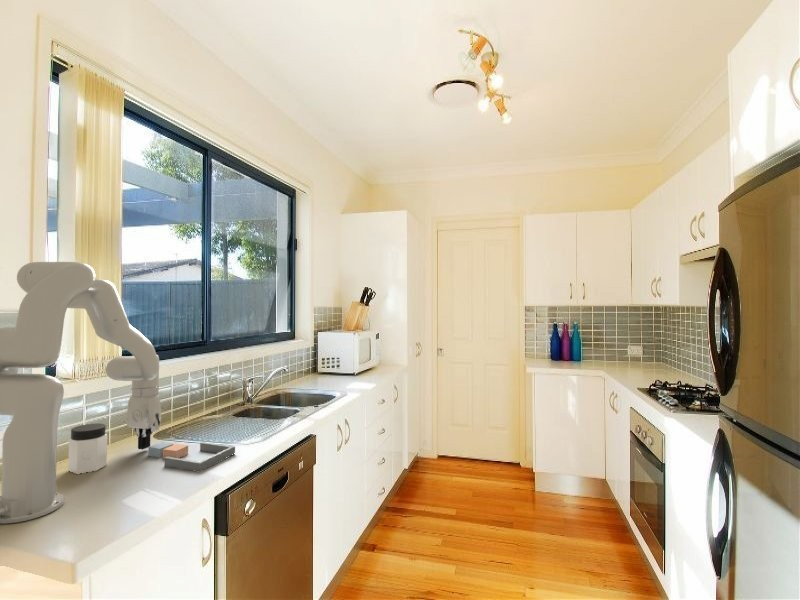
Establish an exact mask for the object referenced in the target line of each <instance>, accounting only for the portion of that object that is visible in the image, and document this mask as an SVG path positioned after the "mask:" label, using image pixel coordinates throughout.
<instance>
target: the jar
mask: <svg viewBox="0 0 800 600" xmlns="http://www.w3.org/2000/svg"><path fill="white" fill-rule="evenodd" d="M106 428H107V427H106V424H105V423H98V422H97V423H89V424H88V423H87V424H81V425H77V426H75V427H72V429H70V438H68V464H67V467H68V468H67V470H68V472H69V471H70V472H71V473H72V472H73V473H72V474H75V475H81V474H80V473H82V474H87V473H86V472H88V473H93V472H92V471H94V472H97V471H98V470H101V469H102V468H104V467H106V466H107V465H108V462H107V461H108V460H107V459H108V434H107V433H106Z"/></svg>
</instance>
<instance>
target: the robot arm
mask: <svg viewBox="0 0 800 600" xmlns="http://www.w3.org/2000/svg"><path fill="white" fill-rule="evenodd" d="M16 281H17V283H18V286H19V287H20V289H22V291H24V292H25V293H26V294H25V296H24V297H23V298H22V300H21V303H20V305H19V308H18V312H17V317H16V323H15V327H13V326H12V327H10V326H9V327H7V326H6V327H0V415H1V416H12V419H11V421H10V422H9V424H8V425H7V427H6V428H5V430H4V433H3V437H2V443H1V445H2V454H1V455H2V457H1V461H2V462H1V489H0V490H1V495H0V524H13V523H14V524H17V523H20V522H21V523H22V522H26V521H30V520H34V519H36V518H41V517H43V516H46V515H48V514H50V513H53V512H55V511H56V510H57V509H59V508H60V507H62V506H63V504H64V503H65V496H64V495H63V494H61V493H58V492H57V458H58V457H57V456H58V455H57V454H58V424H59V417H60V412H61V411H60V410H61V407H62V403H63V399H64V395H65V393H64V392H65V390H64V385H63V384H62V382H61V381H60V380H59V379H58V378H56V377H55V376H52V375H48V374H42V373H18V371H19V368H21V369H39V368H40V369H41V368H47V367H50V366H52V365H54V364H55V363H56V362H57V361H58V359H59V357H60V355H61V354H60V353H61V347H62V340H63V332H64V331H63V330H64V324H65V323H64V322H65V316H66V312H67V309H84V310H85V311H86V314H87V315H88V317H89V318H88V319H89V321H90V323H91V325H92V328H93V330H94V332H95V334H96V336H97V337H98V338H100V339H102V340H104V341H106V342H108V343H111V344H113V345H116V346H118V347H121V348H123V349H124V350H126V351H127V352H129V353H130V354H131V356H130V355H129V356H128V355H127V356H126V355H124V356H122V355H121V356H117V357H114V358H112V359H111V360H109V361H108V363H107V364H106V367H105V373H106V376H108V378H110V380H111V379H112V380H114V381H119V382H120V381H121V382H130V381H131V395H130V396H129V400H128V403H127V409H126V410H127V411H126V426H127V427H129V428H130V429H132V430H134V431H135V433H136V437H137V449H138V450H145V449H148V447H149V446H151V436H152V435H153V433H154V432H157V431H159V430H160V427H159V426H160V425H161V422H162V405H161V398H160V395H159V392H160V391H159V384H160V382H159V381H160V380H159V379H160V357H159V354H157V352H156V349H155V346H154V345H153V343H151V341H150V340H149V339H148V338H147V337H145V335H143V334H142V333H141V332H140V331H139V330H138V329H136V328H135V327H133V326H132V325H131V324H130V322H129V318H128V316H127V313H126V311H125V308H124V306H123V303H122V301H121V298H120V295H119V292H118V290H117V287H116V286H115V284H114V283H113V282H111V281H110V280H106V279H103V278H102V279H100V278H96V273H95V270H94V268H93V267H92V266H91V265H89V264H86V263H84V262H76V261H34V262H33V261H31V262H29V263H26V264H24V265H22V266H21V267H20V269H19V270H18V271H17V274H16Z"/></svg>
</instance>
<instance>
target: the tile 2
mask: <svg viewBox="0 0 800 600" xmlns="http://www.w3.org/2000/svg"><path fill="white" fill-rule="evenodd" d="M173 444H174V443H173ZM186 454H188V455H189V445H187V444H186V445H185V444H176V443H175V444H174V445H172V446H170V447H167V448H165V449H163V457H162V459H165V457H173V458H180V457H181V458H183V457H185V456H187V455H186ZM184 455H185V456H184ZM182 456H183V457H182ZM181 458H180V459H181Z"/></svg>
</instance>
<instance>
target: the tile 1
mask: <svg viewBox="0 0 800 600" xmlns="http://www.w3.org/2000/svg"><path fill="white" fill-rule="evenodd" d="M172 445H174V443H170V442H165V441H160V442H159V443H156V444H152V445H150V446H149V447H148V448H147V451H148V453H147V455H148V456H149V455H151V457H154V456H155V457H154V458H159V457H160V458H163V457H162V456H163V449H165V448H167V447H170V446H172Z"/></svg>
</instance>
